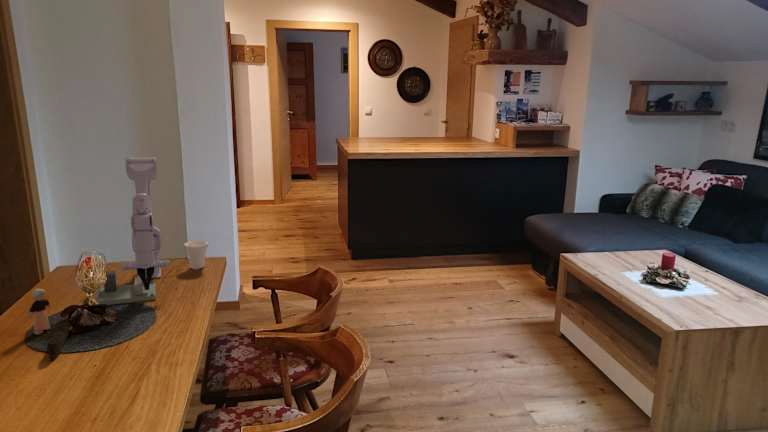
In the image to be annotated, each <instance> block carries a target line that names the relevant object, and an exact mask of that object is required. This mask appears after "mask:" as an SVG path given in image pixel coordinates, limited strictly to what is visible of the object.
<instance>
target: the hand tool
mask: <svg viewBox="0 0 768 432" xmlns="http://www.w3.org/2000/svg"><path fill="white" fill-rule="evenodd" d="M68 320H69V319H61V320H59V321H57V322H56V325H55V327H56V328H55V329H54V330H53V333H52V334H53V335H52V336H51V337H50V338H49V339H48V342H47V353H48V356H49V359H50V360H49V361H50V362H53V361H55V360H56V359H57V358H58V357H59V356H60V354H61V353H62V348H63V346H64V344H65V342H66V339H67V338H68V336H69V333H70V332H69V322H68Z"/></svg>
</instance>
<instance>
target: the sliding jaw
mask: <svg viewBox="0 0 768 432" xmlns="http://www.w3.org/2000/svg"><path fill="white" fill-rule="evenodd" d="M133 284H134V291H135V295H140V294H143V282H142V280H141V278H140V277H139V276H138V275H137V276H134V283H133Z"/></svg>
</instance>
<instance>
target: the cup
mask: <svg viewBox="0 0 768 432" xmlns="http://www.w3.org/2000/svg"><path fill="white" fill-rule="evenodd" d="M208 246H209V241H206V240H191V241H187V242H185V243H183V244H182V247H184V249H186V251H187V256H188V257H189V259H188V260H189V269H191V268H192V269H191V270H200V269H199V268H202V267H204V266H205V267H206V259H205V258H206V253H207V249H208ZM205 267H204V268H205ZM202 269H203V268H202Z"/></svg>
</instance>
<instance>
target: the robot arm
mask: <svg viewBox="0 0 768 432" xmlns="http://www.w3.org/2000/svg"><path fill="white" fill-rule="evenodd" d="M157 165H158V164H157V158H156V157H155V156H152V157H126V158H125V173H126V175H127V178H128V179H129V180H130V181H134V185H135V195H134V196H133V197H132V215H130V216H131V217H130V227H131V232H132V233H131V244H132V245H131V247H132V251H133V253H134V258H135V261H131V262H125V263H121V264H120V272H125V271H131V270H132V271H134V270H136V274H137V276H139V277H140V278H141V280H142V282H143V285H144V288H145V290H149V286H150V283H151V282H152V279H157V278H162V268H170V260H169V259H160V256H159V255H160V253H159V251H160V252H161V250H162V249H163V242H162V241H163V240H162V232H161V229H160V228H158V227H156V226H155V225H154V224H155V223H154V222H155V221H154V216H153V211H152V210H153V209H152V197H151V184H152V181H155V180H156V179H157V177H158V166H157Z"/></svg>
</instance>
